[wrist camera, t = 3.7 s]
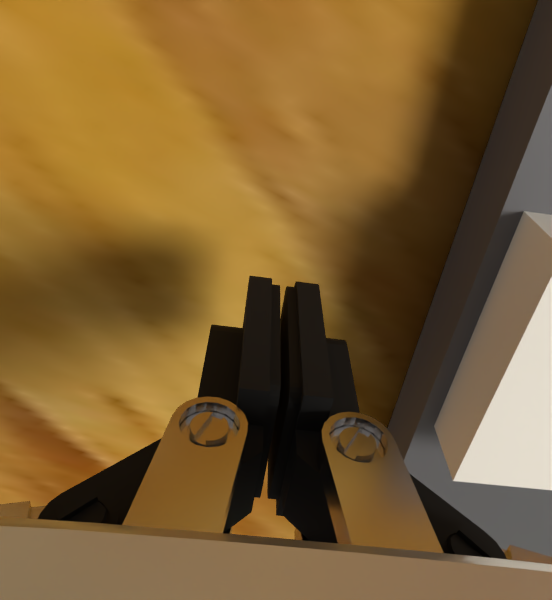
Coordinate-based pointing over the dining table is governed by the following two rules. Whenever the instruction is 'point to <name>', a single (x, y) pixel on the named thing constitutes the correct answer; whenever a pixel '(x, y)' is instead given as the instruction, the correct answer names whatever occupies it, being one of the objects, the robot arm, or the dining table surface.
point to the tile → (507, 374)
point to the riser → (485, 296)
